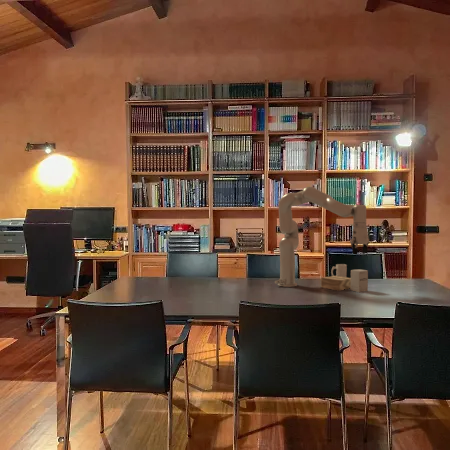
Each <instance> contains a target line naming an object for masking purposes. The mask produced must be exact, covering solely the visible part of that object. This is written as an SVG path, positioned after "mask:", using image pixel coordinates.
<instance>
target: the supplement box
mask: <svg viewBox="0 0 450 450" xmlns="http://www.w3.org/2000/svg"><path fill="white" fill-rule="evenodd" d="M350 278H351V288H350V291H353V292H357V293H361V292H368V290H369V289H368V288H369V287H368V285H369V282H368V281H369V270H366V269H361V268H360V269H351V270H350Z"/></svg>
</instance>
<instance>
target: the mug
mask: <svg viewBox="0 0 450 450" xmlns="http://www.w3.org/2000/svg"><path fill="white" fill-rule="evenodd" d="M347 266H348V265H347V264H345V263H337V264H335V266H332V268H331V270H330V271H331V272H330V273H331V276H342V277H347V273H348V272H347V269H348V268H347ZM334 270H336V271H335V272H336V275H334Z"/></svg>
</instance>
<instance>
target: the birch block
mask: <svg viewBox="0 0 450 450" xmlns="http://www.w3.org/2000/svg"><path fill="white" fill-rule="evenodd" d="M320 282H321V283H320V285H321V286H320V287H321V288H323V289H329V290H332V291H333V290H334V291H344V289H345V290H348V289H349V288H350V289H351V277H347V276H346V277H342V276H336V275H334V276H332V275H331V276H324V277H321V280H320ZM350 289H349V290H350Z"/></svg>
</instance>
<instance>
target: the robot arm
mask: <svg viewBox="0 0 450 450" xmlns="http://www.w3.org/2000/svg"><path fill="white" fill-rule="evenodd" d="M307 203H313V204H315V205H317V206H319V207H321V208H323V209H325V210H327V211H329V212H331V213H333V214H336V215H337V216H339V217H341V218H351V217H353V218H352V219H353V228H352V238H351V239H350V240H349V242H350V246H351V249H352V251H351V252H352V255H358V245H362V253H363V254H368V253H369V252H368V247H369V244H370V238H369V232H368V227H367V206H366V205H365V204H355V205H351V204H345V203H343V202H340V201H338V200H336V199H334V198H333V197H332V196H331V195H329V194H328V193H325V192H323V191H321V190H319V189H317V188H316V187H314V186H307V187H304V189H303V190H301V191H298V192H288V193H286V194H284V195H283V196H281V198H280V200H279V202H278V206H277V207H278V222H279V231H280V233H281V234H283V235H284V237H282V238H281V239H280V240H279V243H278V249H279V267H280V268H279V278H278V280H275V281H274V284H275V285H277V286H278V287H286V288H287V287H288V288H289V287H290V288H293V287H297V286H298V282H296V271H295V270H296V261H295V260H296V256H295V250H296V249H297V248H298V246H299V244H300V241H299V240H300V239H299V227H298V224H297V222H296V221H295V220H293V210H292V207H294V206H295V207H297V206H301V205H304V204H307Z"/></svg>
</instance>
